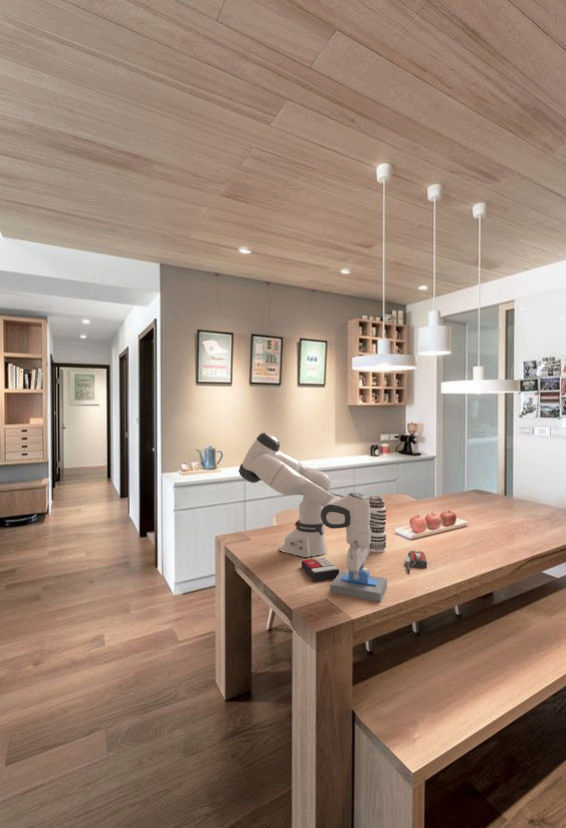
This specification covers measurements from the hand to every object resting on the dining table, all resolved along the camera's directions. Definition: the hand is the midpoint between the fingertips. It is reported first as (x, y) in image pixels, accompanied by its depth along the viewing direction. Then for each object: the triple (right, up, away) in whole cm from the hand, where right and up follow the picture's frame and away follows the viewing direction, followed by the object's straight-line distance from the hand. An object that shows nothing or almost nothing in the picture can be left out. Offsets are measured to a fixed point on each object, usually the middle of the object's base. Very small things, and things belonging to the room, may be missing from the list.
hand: (358, 574), depth 145 cm
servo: (0, -6, 0) cm, 6 cm away
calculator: (-13, -6, +16) cm, 21 cm away
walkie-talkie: (+29, -5, +22) cm, 36 cm away
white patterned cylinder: (+17, -5, +41) cm, 44 cm away
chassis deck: (0, -6, 0) cm, 6 cm away
